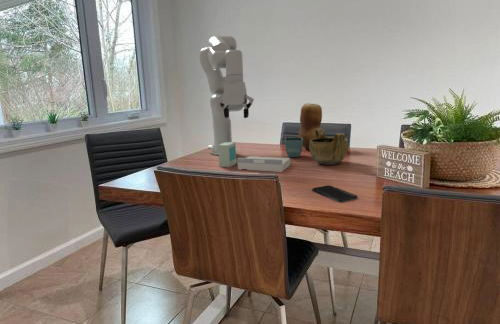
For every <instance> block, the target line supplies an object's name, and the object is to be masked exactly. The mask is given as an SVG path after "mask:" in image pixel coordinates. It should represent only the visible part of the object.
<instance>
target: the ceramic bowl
mask: <svg viewBox="0 0 500 324" xmlns="http://www.w3.org/2000/svg"><path fill="white" fill-rule="evenodd" d="M315 134H316V138H314V139H311V140H310V143H309V149H310V150H309V154H310V156H311V158H312V159H313V160H314V161H315V162H317V163H320V164H322V165H325V166H332V165H337V164H338V163H341V162H342V161H343V160H344V159H345V158H346V156H347V154H348V149H349V146H348V145H349V141H348V139H347V138H346V135H345V133H344V132H339V133H335V134H334V136H326V132H325V130H324V128H321V129H316V131H315Z"/></svg>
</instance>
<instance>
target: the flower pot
mask: <svg viewBox="0 0 500 324" xmlns="http://www.w3.org/2000/svg"><path fill="white" fill-rule="evenodd" d="M284 146H285V152H286V155H287V158H299V157H300V156H301V154H302V150H303V139H302V138H299V137H284Z"/></svg>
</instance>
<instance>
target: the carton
mask: <svg viewBox="0 0 500 324" xmlns="http://www.w3.org/2000/svg"><path fill="white" fill-rule="evenodd" d="M236 148H237V146H236V142H234V141H233V142H225V143H222V144H220V145H218V150H219V155H218V167H221V168H230V166H231V167H232V166H234V165H236V164H237V153H236V152H237V149H236Z"/></svg>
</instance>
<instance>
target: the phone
mask: <svg viewBox="0 0 500 324" xmlns="http://www.w3.org/2000/svg"><path fill="white" fill-rule="evenodd" d="M311 192H314V193H316V194H319V195H320V196H322V197H325V198H328V199H330V200H333V201H335V202H337V203H344V202H349V201H353V200H357V199H358V195H356V194H354V193H351V192H348V191H346V190H343V189H341V188H338V187H335V186H332V185H323V186H317V187H313V188H311Z"/></svg>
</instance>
